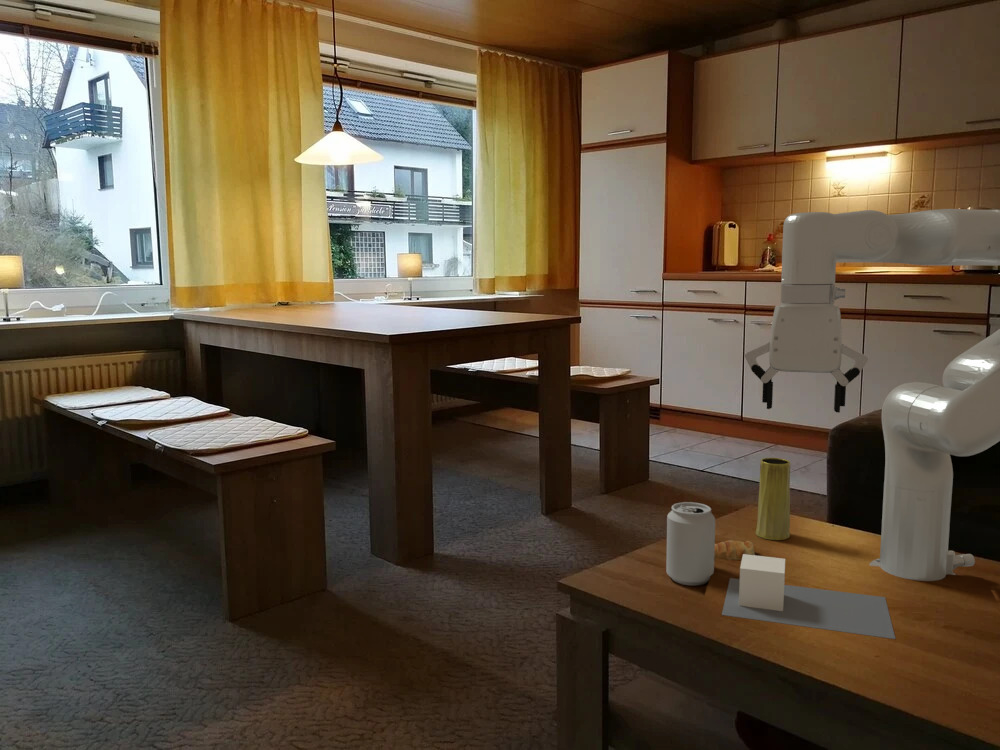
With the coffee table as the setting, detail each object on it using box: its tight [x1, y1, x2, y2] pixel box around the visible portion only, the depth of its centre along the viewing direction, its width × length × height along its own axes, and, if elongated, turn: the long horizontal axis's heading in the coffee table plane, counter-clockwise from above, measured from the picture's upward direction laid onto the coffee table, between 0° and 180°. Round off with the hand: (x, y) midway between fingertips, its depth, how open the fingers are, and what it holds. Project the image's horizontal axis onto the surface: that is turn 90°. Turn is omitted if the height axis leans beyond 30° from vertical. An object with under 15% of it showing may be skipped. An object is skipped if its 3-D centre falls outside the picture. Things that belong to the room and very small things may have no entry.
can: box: [665, 501, 716, 586], centre depth 127 cm, size 8×8×12 cm
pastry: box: [714, 539, 756, 563], centre depth 135 cm, size 9×7×4 cm
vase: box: [755, 457, 791, 541], centre depth 147 cm, size 6×6×14 cm
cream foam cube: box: [739, 554, 786, 611], centre depth 115 cm, size 6×6×6 cm
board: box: [721, 577, 896, 640], centre depth 114 cm, size 22×14×2 cm, turn 69°
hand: (802, 409), depth 120 cm, fingers open, 9 cm apart
